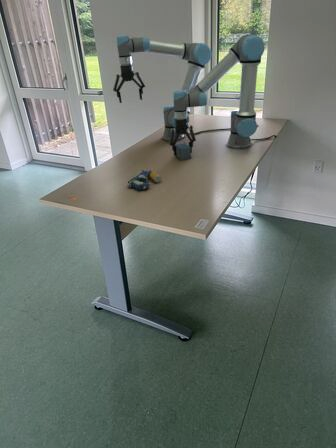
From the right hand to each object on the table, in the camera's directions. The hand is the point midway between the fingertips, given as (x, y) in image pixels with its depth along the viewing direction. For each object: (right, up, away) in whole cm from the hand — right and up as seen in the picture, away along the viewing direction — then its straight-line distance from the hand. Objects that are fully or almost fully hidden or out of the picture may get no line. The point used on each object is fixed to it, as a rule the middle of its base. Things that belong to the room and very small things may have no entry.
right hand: (183, 153), depth 211 cm
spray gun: (-22, -22, -29) cm, 42 cm away
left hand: (-33, +35, +3) cm, 48 cm away
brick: (0, -2, +1) cm, 2 cm away
